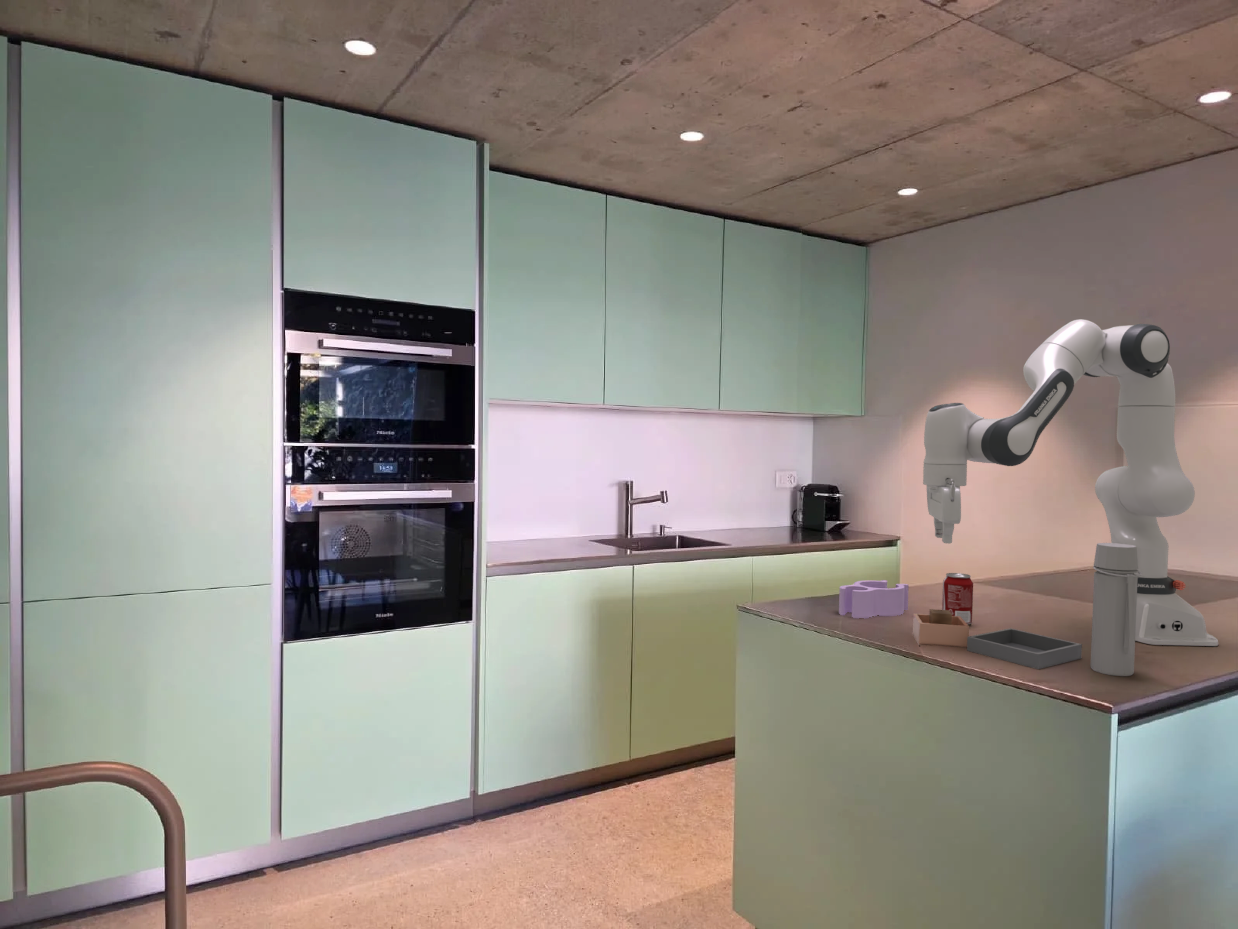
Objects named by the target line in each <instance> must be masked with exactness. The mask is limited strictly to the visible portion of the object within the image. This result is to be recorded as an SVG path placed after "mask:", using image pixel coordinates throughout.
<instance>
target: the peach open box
mask: <svg viewBox="0 0 1238 929" xmlns="http://www.w3.org/2000/svg"><path fill="white" fill-rule="evenodd" d="M912 614H913V616H912V617H913V620H912V637H913V638H914V640H915V642H916V644H917V646H918V647H921V645H930V646H931V645H932V646H946V647H957V648H958V647H959V648H961V647H962V648H967V637H968V636H970V625H967V623H966V622H965V621H964V620H963V619H962V618H961V617H960V616H952V625H947V624H931V623H929V613H912Z"/></svg>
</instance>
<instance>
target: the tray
mask: <svg viewBox="0 0 1238 929" xmlns="http://www.w3.org/2000/svg"><path fill="white" fill-rule="evenodd" d="M1082 645H1083V644H1082V643H1079V642H1078V643H1077V642H1074V641H1070V640H1065V639H1060V638H1056V637H1051V636H1047V635H1044V634H1043V635H1041V634H1038V633H1033V632H1029V631H1024V630H1021V629H1020V630H1019V629H1016V628H1011V627H1009V628H1005V629H998V630H995V631H989V632H985V633H980V634H974V635H969V636H968V637H967V647H966V651H967V652H971V653H973V654H974V653H975V654H978V655H982V656H986V657H990V658H994V659H998V660H1001V661H1005V662H1009V663H1012V664H1016V665H1020V666H1024V667H1028V668H1032V669H1036V670H1041V669H1045V668H1049V667H1050V668H1051V667H1053V666H1057V665H1062V664H1065V663H1070V662H1073V661H1077V660H1081V659H1082V650H1083V649H1082V648H1083V646H1082Z"/></svg>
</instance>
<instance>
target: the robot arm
mask: <svg viewBox="0 0 1238 929" xmlns="http://www.w3.org/2000/svg"><path fill="white" fill-rule="evenodd" d="M1170 351H1171V345H1170V340H1169V338H1168V335H1167V334H1166V332H1165V330H1164V329H1162V327H1160V326H1158V325H1154V324H1149V323H1138V324H1132V325H1131V324H1130V325H1128V324H1127V325H1117V326H1113V327H1110V328H1106V329H1101V327H1100V326H1099V325H1098V324H1096V323H1095V322H1093V321H1090V320H1089V319H1083V318H1082V319H1081V318H1080V319H1074V320H1072V321H1069V322H1068V323H1067V324H1066V323H1065V325H1063V326H1062V327H1060V328H1058V330H1056V331H1055V332H1053V333H1052V334H1051V335H1050V336H1048V337H1047V338H1046V339H1045V340H1044V341H1043V342H1042V343H1041V344H1040V345H1039V346H1038V347H1037V348H1035V350H1034V351H1033V352H1032V353H1031V355H1030V356H1029V357H1028V358H1027V360H1026V361H1025V364H1024V365H1023V371H1022V372H1023V377H1024V380H1025V382H1026V384H1027V386H1028V387H1029V388H1030V389H1031V390H1032V391H1033V392H1032V394H1031V395H1029V397H1028V398H1027V399H1026V400H1025V402H1024V403H1023V404H1022V406H1021V407H1019V410H1018V411H1016V412H1015V413H1013V414H1012V415H1009V416H1005V417H1000V418H985V417H983V416H981V415H978V414H977V413H975V412H973V411H971V410H970V409H969V408H968V407H966V405H965V404H964V403H962V402H950V403H943V404H937V405H935V406H932V407H931V408H930V409H929V410H928V412H927V414H926V418H925V424H924V433H923V434H924V436H923V445H924V448H925V449H924V450H925V456H924V459H923V467H922V468H923V470H922V471H923V472H922V474H923V476H922V477H923V478H922V485H925V486H926V501H927V504H926V505H927V512H928V515H930V516H931V517H933V525H934V536H935V538H938V539H941V541H942V543H943V544H948V545H949V544H952V542H953V533H954V530H955V525H956V524H957V525H958V524H960V523H961V519H962V499H961V498H962V497H961V494H962V493H961V487H965V486H967V482H968V481H967V476H968V475H967V474H968V461H970V462H974V463H975V462H976V463H982V464H985V463H986V464H994V465H995V464H996V465H1000V466H1005V467H1015V466H1018V465H1021V464H1022V463H1024V462H1026V461H1027V460H1028V458H1030V456H1031V454H1032V453H1033V451H1034V449H1035V447H1036V445H1037V442H1038V440H1039V438H1040V436H1041V434H1042V433H1043V431H1044V430H1045V429H1046V427H1047V426H1048V425H1049V424H1050V422H1051V421H1052V420H1053V419H1054V417H1055V416H1056V415H1057V413H1058V412H1059V411H1060V409H1061V408H1062V407H1063V406H1064V404H1065V403H1066V402H1067V400H1068V399H1069V397H1070V396H1071V394H1072V393H1073V391H1074V387H1075V384H1076V383H1077V382H1078V381H1079V380H1080V379H1081V378H1082V377H1083V376H1086V377H1090V378H1091V377H1092V378H1100V377H1116V378H1117V381H1118V383H1119V391H1118V392H1119V394H1118V403H1117V419H1116V420H1117V421H1116V422H1117V424H1116V441H1117V443H1118V445H1119V446H1120V447H1121V448H1122V450H1123V452H1124V455H1125V458H1126V463H1127V465H1125V466H1124V465H1122V466H1118V467H1114V468H1110V469H1106V470H1105V471H1103V472H1102V473H1101V474H1100V475H1099V476H1098V477H1097V479H1096V481H1095V486H1094V490H1095V495H1096V497H1097V499H1098V500H1099V502H1100V503H1101V504H1102V506H1103V509H1104V511H1105V516H1106V518H1107V524H1108V527H1109V533H1110V539H1111V540H1110V543H1118V544H1128V545H1134V546H1137V559H1138V569H1137V570H1138V571H1140V572H1141V573H1142V575H1141V576H1139V577H1138V580H1137V605H1136V630H1135V642H1140V643H1142V644H1148V645H1156V646H1162V645H1163V646H1200V647H1202V646H1203V647H1205V646H1206V647H1217V646H1218V645H1219V640H1218V638H1216V637H1215V636H1214V635H1212V634H1209V633H1208V632H1207V625H1206V621H1205V617H1204V616H1203V614H1202V613H1201V612H1200V611H1199V610H1198V609H1196V607H1194V606H1192V605H1191V604H1190V603H1189V602H1187V601H1186V600H1185V599H1184V598H1182V597H1181V596H1179V595H1178V594H1177V593H1176V591H1178V590H1179V591H1183V590H1184V589H1185V588H1186V583H1185V582H1184V581H1183V580H1179V579H1172V577H1169V576H1168V569H1169V542H1168V539H1167V538H1166V537H1165V536H1164V534H1163V532H1162V531H1161V528H1160V526H1159V523H1158V518H1167V517H1174V516H1178V515H1181V514H1183V513H1185V512H1187V511H1188V510H1189V509H1190V508H1191V506H1192V505H1193V502H1194V501H1195V496H1196V492H1195V487H1194V485H1193V483H1192V481H1191V480H1190V478H1188V477H1187V476H1186V474H1185V473H1184V471H1183V469H1182V466H1181V464H1180V460H1179V456H1178V453H1177V448H1176V443H1175V421H1176V420H1175V417H1176V386H1175V379H1174V378H1175V377H1174V373H1173V369H1172V366H1171V365H1170V364H1169V363H1168V361H1169V358H1170V354H1171V352H1170ZM1134 574H1135V575H1139V573H1138V572H1137V573H1134Z"/></svg>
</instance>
